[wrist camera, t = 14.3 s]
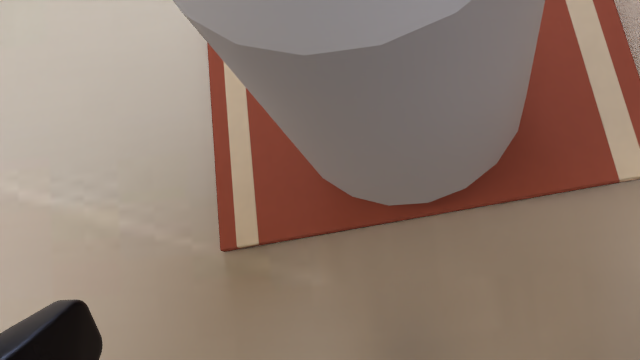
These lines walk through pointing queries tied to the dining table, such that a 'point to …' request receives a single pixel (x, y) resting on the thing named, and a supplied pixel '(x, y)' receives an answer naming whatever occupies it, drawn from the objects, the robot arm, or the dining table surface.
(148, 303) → the dining table surface
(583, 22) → the red table runner
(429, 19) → the can
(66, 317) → the robot arm
